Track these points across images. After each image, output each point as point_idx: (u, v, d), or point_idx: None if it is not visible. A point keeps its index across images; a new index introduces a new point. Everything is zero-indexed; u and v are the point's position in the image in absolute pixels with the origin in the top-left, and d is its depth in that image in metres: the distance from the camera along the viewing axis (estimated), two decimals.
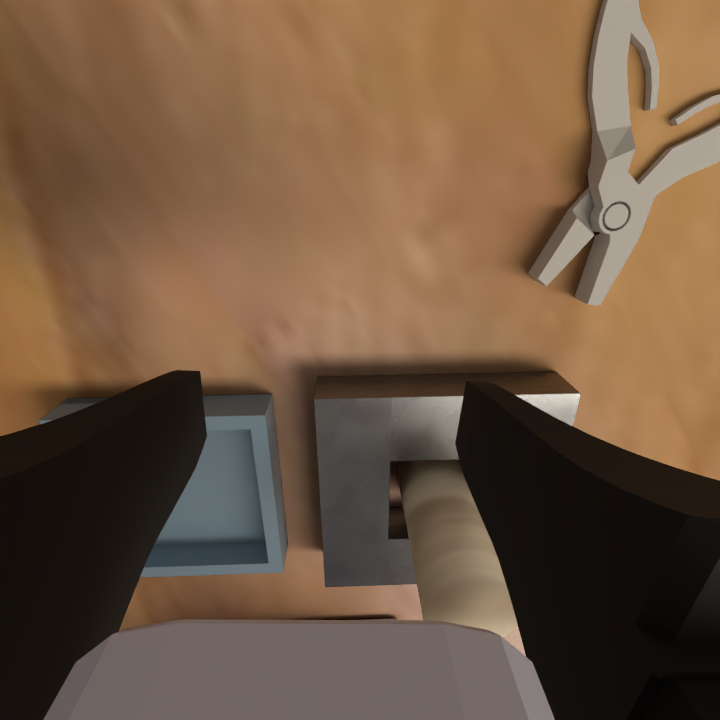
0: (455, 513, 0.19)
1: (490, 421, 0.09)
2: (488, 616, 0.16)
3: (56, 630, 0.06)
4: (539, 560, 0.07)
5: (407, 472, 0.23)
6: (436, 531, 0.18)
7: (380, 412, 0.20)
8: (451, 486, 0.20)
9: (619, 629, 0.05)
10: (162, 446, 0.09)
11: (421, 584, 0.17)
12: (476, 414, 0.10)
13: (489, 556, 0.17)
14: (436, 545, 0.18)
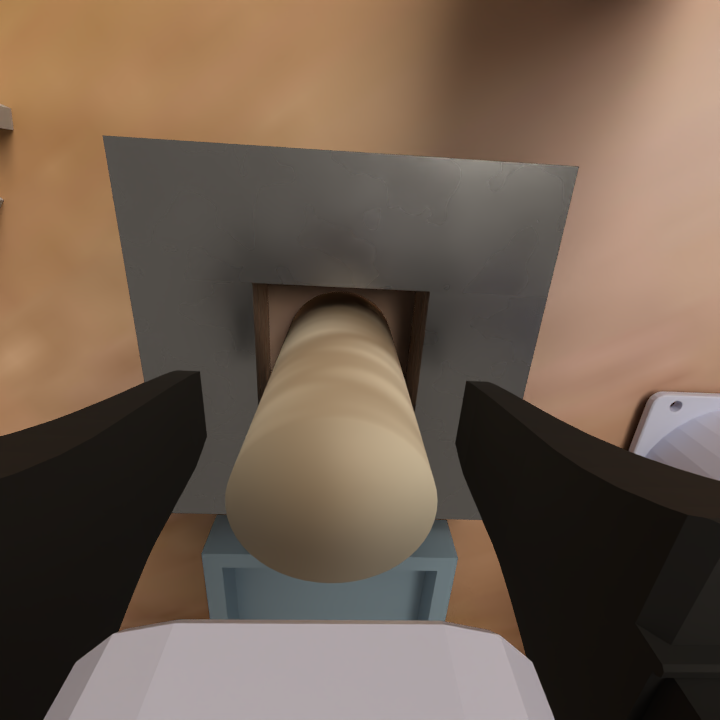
0: None
1: (490, 421, 0.09)
2: (336, 482, 0.07)
3: (56, 630, 0.06)
4: (539, 560, 0.07)
5: None
6: None
7: None
8: None
9: (619, 629, 0.05)
10: (162, 446, 0.09)
11: None
12: (476, 414, 0.10)
13: (249, 430, 0.08)
14: None
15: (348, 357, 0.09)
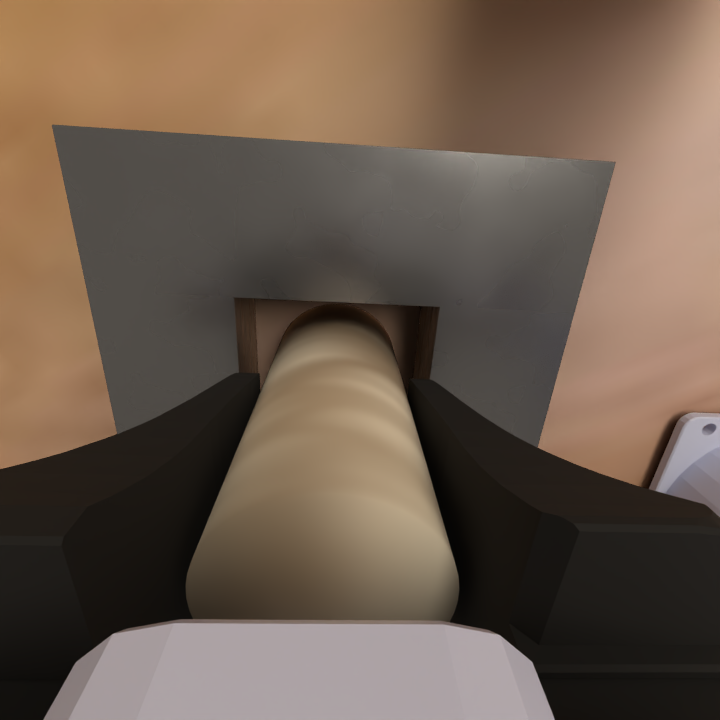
0: None
1: (424, 419, 0.09)
2: (328, 569, 0.06)
3: None
4: None
5: None
6: None
7: None
8: None
9: (499, 629, 0.05)
10: (234, 449, 0.09)
11: None
12: (415, 412, 0.10)
13: (220, 491, 0.07)
14: None
15: (346, 394, 0.08)
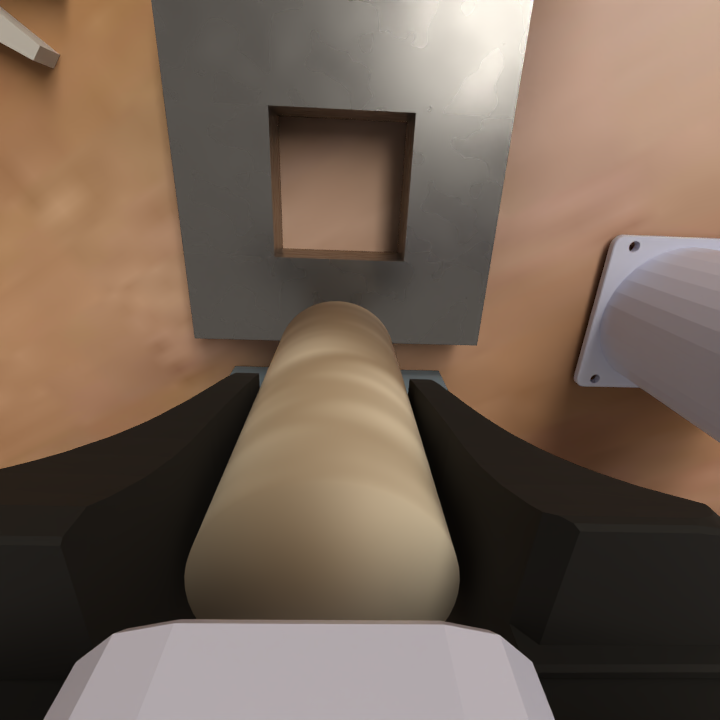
0: None
1: (424, 419, 0.09)
2: (328, 560, 0.06)
3: None
4: None
5: None
6: None
7: (204, 268, 0.17)
8: None
9: (499, 629, 0.05)
10: None
11: None
12: (415, 412, 0.10)
13: (219, 483, 0.07)
14: None
15: (346, 387, 0.08)
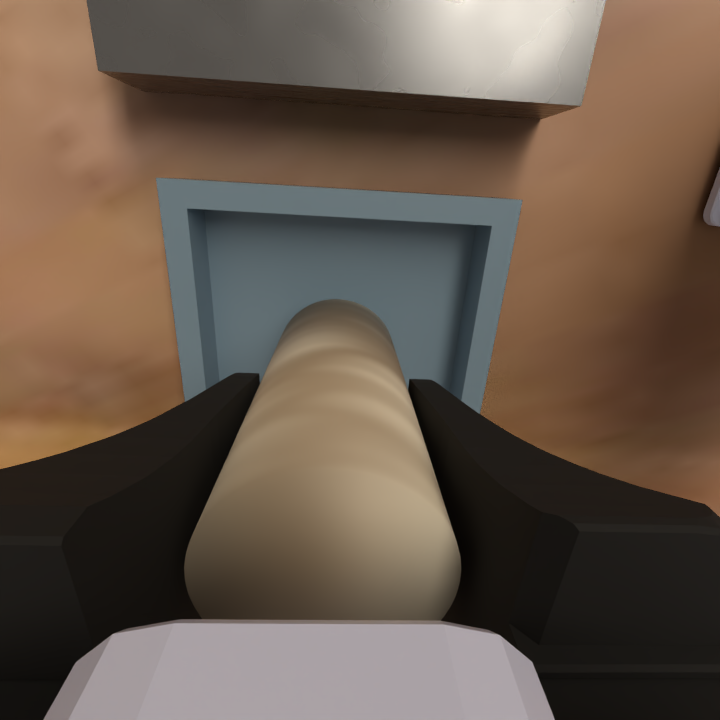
0: None
1: (423, 419, 0.09)
2: (329, 549, 0.06)
3: None
4: None
5: None
6: None
7: None
8: None
9: (498, 628, 0.05)
10: None
11: None
12: None
13: (219, 475, 0.07)
14: None
15: (346, 380, 0.08)
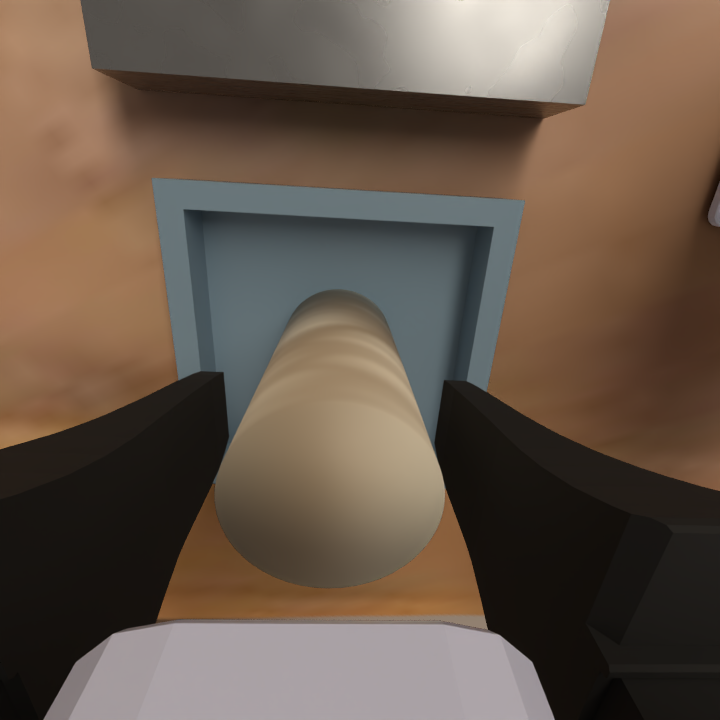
0: None
1: (464, 420, 0.09)
2: (335, 474, 0.07)
3: (101, 630, 0.06)
4: (505, 560, 0.07)
5: None
6: None
7: None
8: None
9: (572, 629, 0.05)
10: (190, 447, 0.09)
11: None
12: (452, 413, 0.10)
13: (241, 422, 0.08)
14: None
15: (348, 346, 0.09)
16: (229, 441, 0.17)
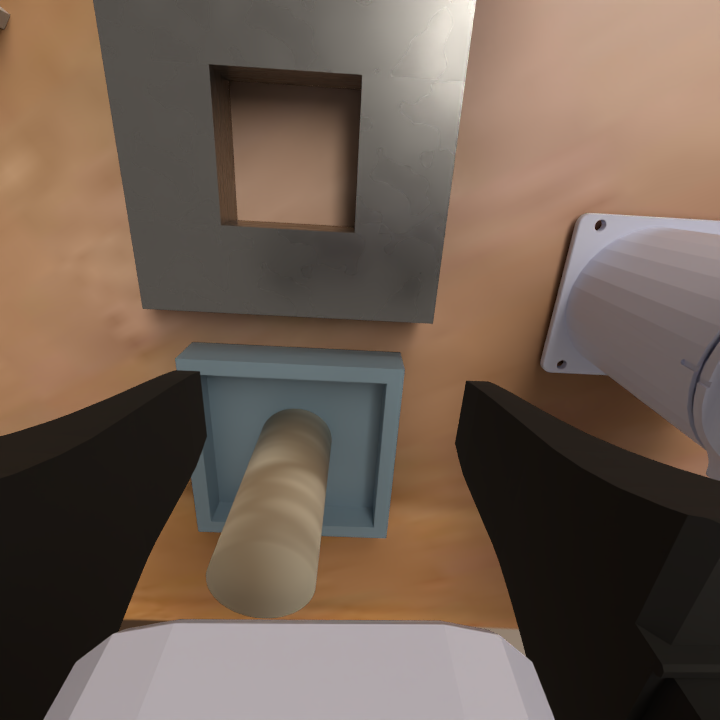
0: None
1: (490, 421, 0.09)
2: (261, 570, 0.15)
3: (56, 630, 0.06)
4: (539, 560, 0.07)
5: None
6: None
7: (149, 235, 0.17)
8: None
9: (619, 629, 0.05)
10: (162, 446, 0.09)
11: None
12: (476, 414, 0.10)
13: (220, 535, 0.16)
14: None
15: (279, 488, 0.17)
16: (224, 500, 0.25)
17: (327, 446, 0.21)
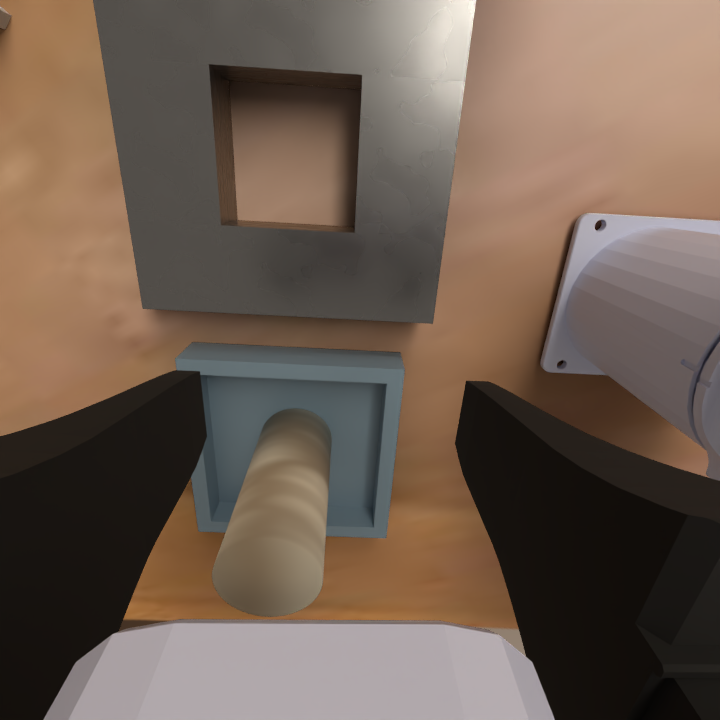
0: None
1: (490, 421, 0.09)
2: (268, 567, 0.15)
3: (56, 630, 0.06)
4: (539, 560, 0.07)
5: None
6: None
7: (149, 235, 0.17)
8: None
9: (619, 629, 0.05)
10: (162, 446, 0.09)
11: None
12: (476, 414, 0.10)
13: (225, 533, 0.16)
14: None
15: (283, 485, 0.17)
16: (224, 500, 0.25)
17: (328, 445, 0.21)
